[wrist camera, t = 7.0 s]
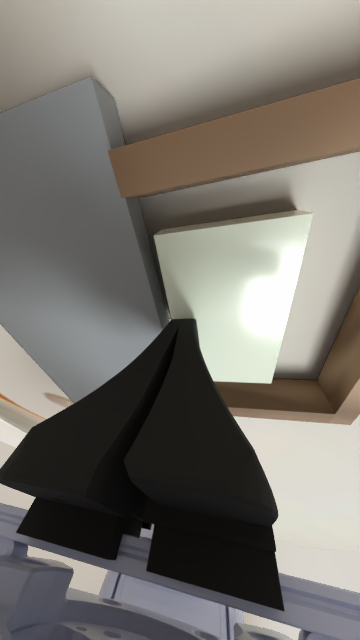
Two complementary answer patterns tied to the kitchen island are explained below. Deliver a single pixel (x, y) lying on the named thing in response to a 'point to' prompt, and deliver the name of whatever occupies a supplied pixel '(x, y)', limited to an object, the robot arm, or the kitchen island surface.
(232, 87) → the kitchen island surface
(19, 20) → the kitchen island surface
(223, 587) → the robot arm
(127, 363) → the raised plate
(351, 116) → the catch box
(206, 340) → the tile
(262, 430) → the kitchen island surface
